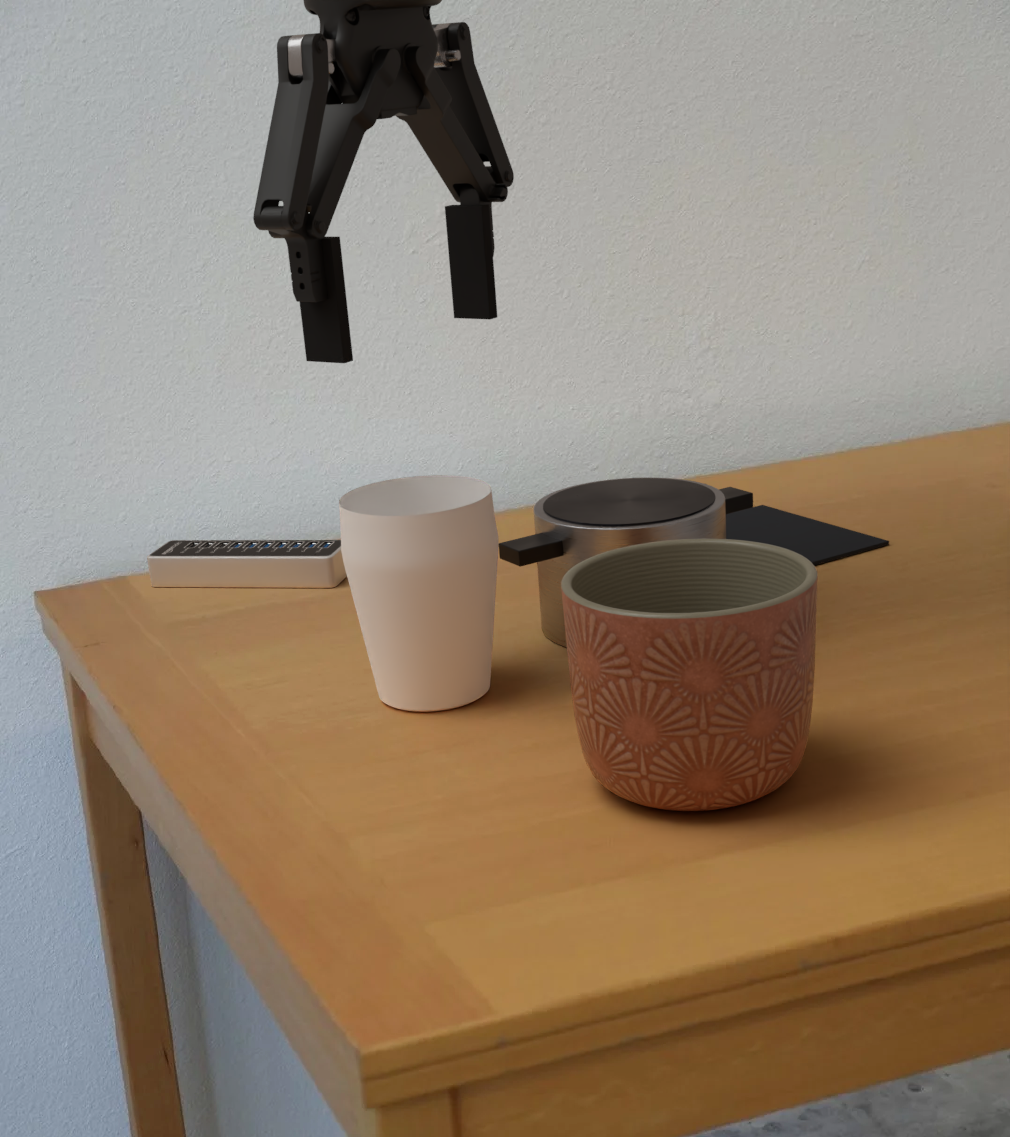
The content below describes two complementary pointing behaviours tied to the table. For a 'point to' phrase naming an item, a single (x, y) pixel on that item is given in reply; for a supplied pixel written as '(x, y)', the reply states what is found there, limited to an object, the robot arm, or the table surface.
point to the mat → (798, 534)
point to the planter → (692, 669)
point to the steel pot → (614, 528)
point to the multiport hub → (247, 564)
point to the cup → (424, 586)
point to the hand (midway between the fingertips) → (406, 339)
